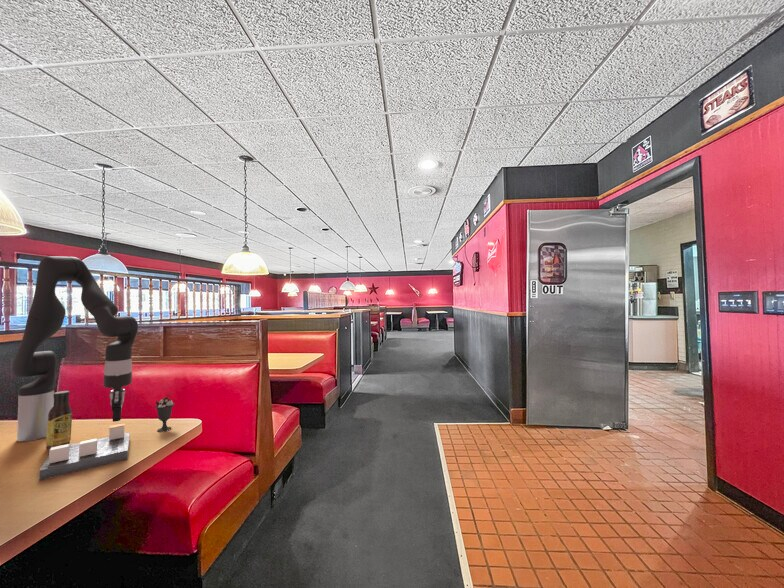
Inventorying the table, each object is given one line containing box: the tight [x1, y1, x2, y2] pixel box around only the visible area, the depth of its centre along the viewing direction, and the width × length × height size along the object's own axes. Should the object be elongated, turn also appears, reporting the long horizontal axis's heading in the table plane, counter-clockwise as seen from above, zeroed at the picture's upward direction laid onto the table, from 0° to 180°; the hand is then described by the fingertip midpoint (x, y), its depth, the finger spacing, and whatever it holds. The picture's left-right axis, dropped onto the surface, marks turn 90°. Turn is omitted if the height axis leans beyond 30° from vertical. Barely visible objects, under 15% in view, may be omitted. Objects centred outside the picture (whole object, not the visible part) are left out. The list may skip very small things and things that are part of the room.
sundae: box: [154, 394, 175, 433], centre depth 129 cm, size 7×7×15 cm
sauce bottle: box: [45, 390, 73, 451], centre depth 113 cm, size 7×6×20 cm
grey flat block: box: [38, 432, 131, 481], centre depth 105 cm, size 18×20×3 cm
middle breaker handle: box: [79, 438, 98, 457], centre depth 102 cm, size 2×4×4 cm, turn 129°
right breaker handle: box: [48, 443, 71, 463], centre depth 97 cm, size 2×4×4 cm, turn 128°
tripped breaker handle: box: [108, 422, 126, 440], centre depth 113 cm, size 2×4×4 cm, turn 129°
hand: (116, 420), depth 111 cm, fingers closed
